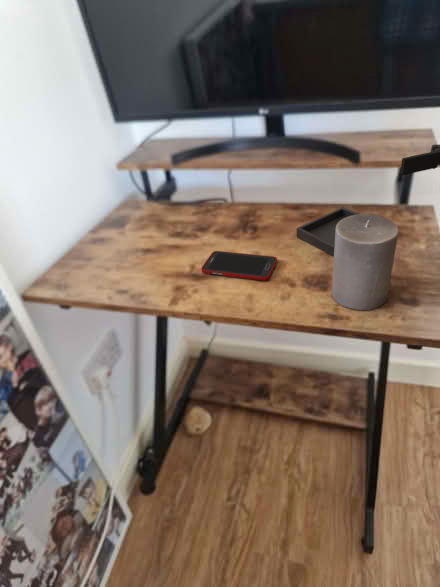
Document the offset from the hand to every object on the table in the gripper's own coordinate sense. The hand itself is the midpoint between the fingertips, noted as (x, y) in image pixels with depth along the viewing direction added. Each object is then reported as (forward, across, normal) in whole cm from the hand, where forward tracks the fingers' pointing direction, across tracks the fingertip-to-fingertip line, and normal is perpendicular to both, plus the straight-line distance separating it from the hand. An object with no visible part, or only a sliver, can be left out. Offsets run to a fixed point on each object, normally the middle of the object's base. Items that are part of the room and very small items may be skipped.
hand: (427, 181), depth 62 cm
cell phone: (+28, +17, -20) cm, 38 cm away
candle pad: (+3, +19, -20) cm, 28 cm away
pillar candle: (+10, 0, -20) cm, 22 cm away
